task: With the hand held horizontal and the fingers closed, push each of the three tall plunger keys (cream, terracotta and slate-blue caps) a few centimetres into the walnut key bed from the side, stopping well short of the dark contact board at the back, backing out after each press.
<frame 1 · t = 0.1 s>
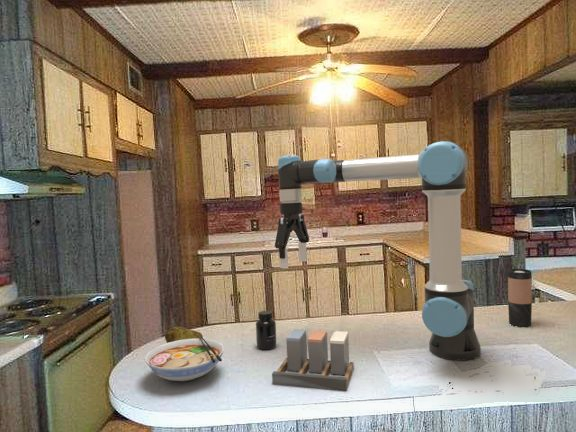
hand: (294, 264, 146), 28 cm above the worktop, tool pointing down, fingers open, 13 cm apart
slate key: (297, 349, 130), point 5 cm above the worktop, slide at 0.0 cm
cream key: (339, 352, 127), point 5 cm above the worktop, slide at 0.0 cm
ramen bowl: (186, 376, 127), on the worktop
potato: (185, 349, 150), on the worktop
key bed: (317, 371, 126), on the worktop
travel mug: (520, 325, 158), on the worktop
supplement bottle: (266, 347, 148), on the worktop
terracotta key: (318, 350, 128), point 5 cm above the worktop, slide at 0.0 cm
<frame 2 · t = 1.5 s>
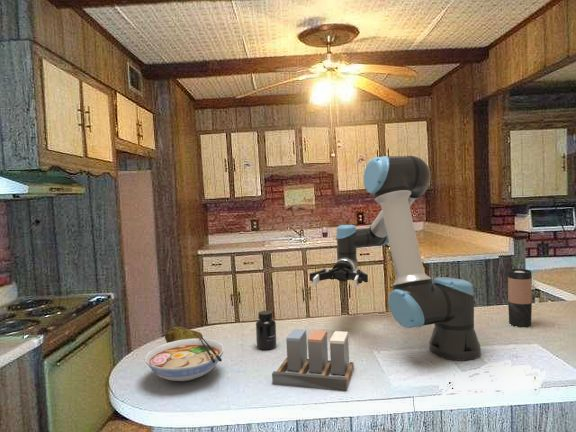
hand: (334, 283, 141), 22 cm above the worktop, tool horizontal, fingers open, 13 cm apart
nothing on the worktop moved.
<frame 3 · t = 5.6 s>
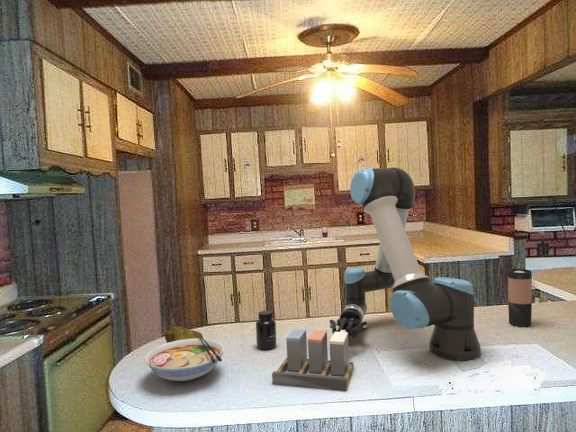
hand: (339, 341, 130), 7 cm above the worktop, tool horizontal, fingers closed
cream key: (339, 352, 126), point 5 cm above the worktop, slide at 0.4 cm, touching gripper
everything else where it was.
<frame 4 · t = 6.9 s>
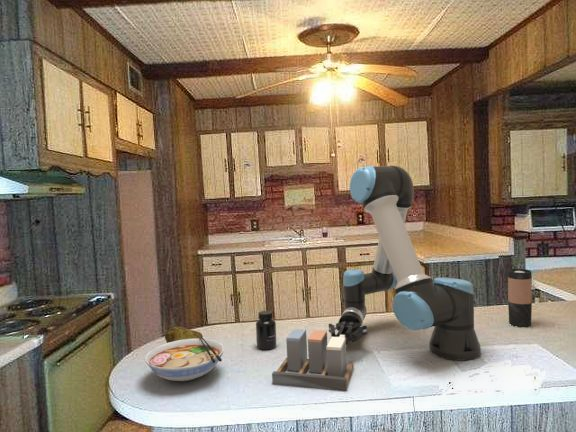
hand: (339, 346, 126), 7 cm above the worktop, tool horizontal, fingers closed
cream key: (336, 358, 122), point 5 cm above the worktop, slide at 4.8 cm, touching gripper
everything else where it was.
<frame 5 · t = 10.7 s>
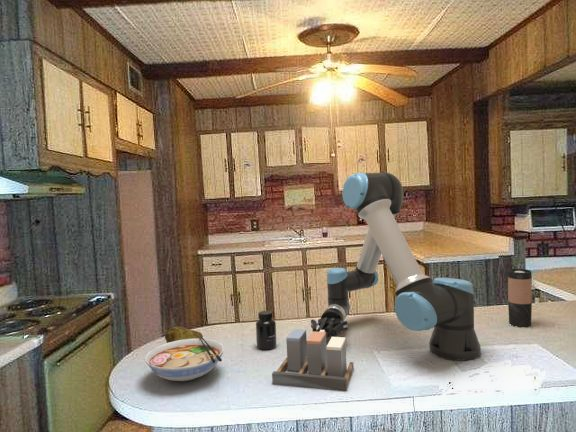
hand: (318, 341, 131), 7 cm above the worktop, tool horizontal, fingers closed
cream key: (336, 358, 122), point 5 cm above the worktop, slide at 4.8 cm
terracotta key: (317, 352, 127), point 5 cm above the worktop, slide at 1.3 cm, touching gripper
everything else where it was.
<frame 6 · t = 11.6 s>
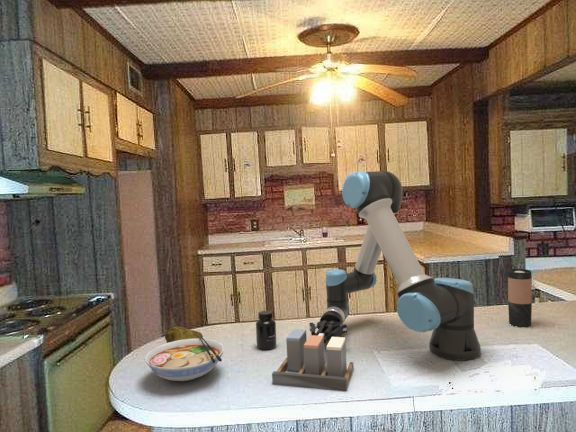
hand: (317, 345, 128), 7 cm above the worktop, tool horizontal, fingers closed
terracotta key: (314, 357, 124), point 5 cm above the worktop, slide at 4.7 cm, touching gripper
everything else where it was.
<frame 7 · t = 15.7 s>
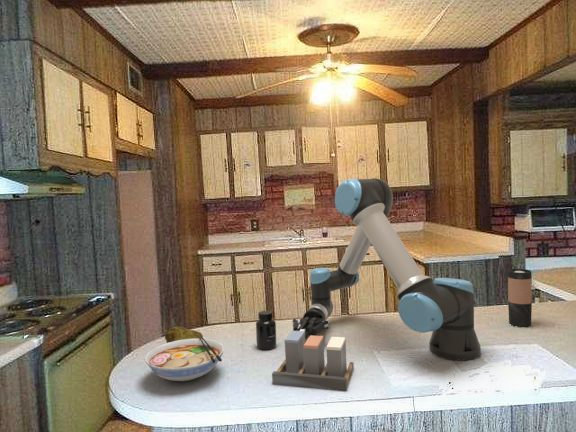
hand: (297, 340, 133), 7 cm above the worktop, tool horizontal, fingers closed
slate key: (295, 351, 129), point 5 cm above the worktop, slide at 1.6 cm, touching gripper
terracotta key: (314, 357, 124), point 5 cm above the worktop, slide at 4.8 cm
everything else where it was.
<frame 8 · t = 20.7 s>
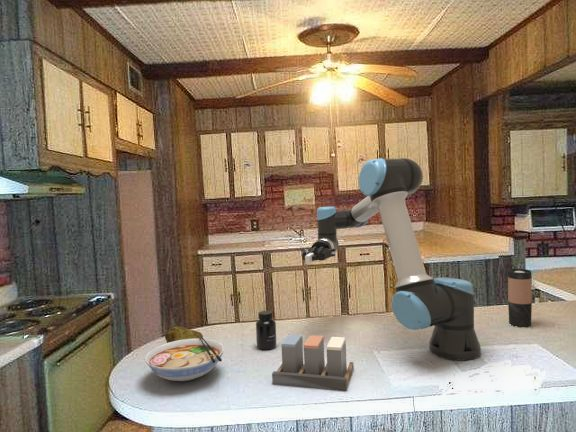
hand: (307, 260, 141), 30 cm above the worktop, tool horizontal, fingers closed
slate key: (292, 355, 126), point 5 cm above the worktop, slide at 4.8 cm
everything else where it was.
at the end: cream key slide at 4.8 cm; terracotta key slide at 4.8 cm; slate key slide at 4.8 cm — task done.
